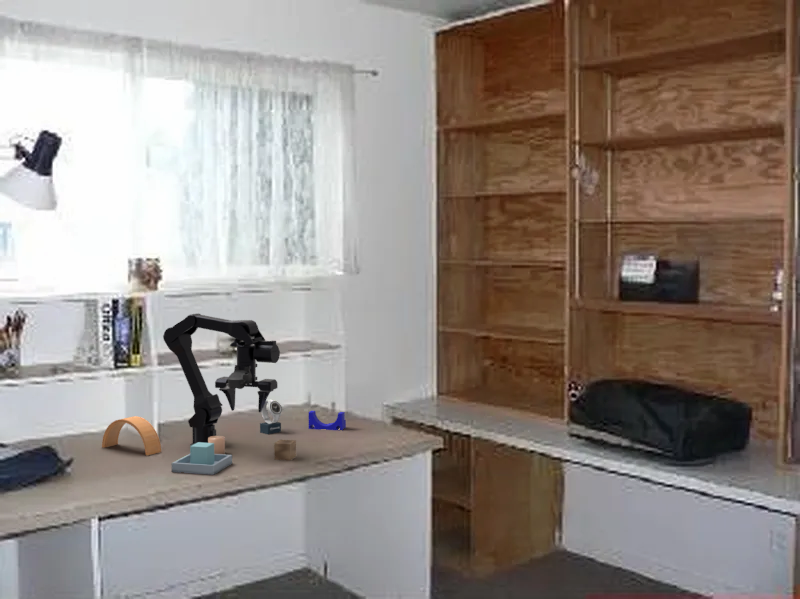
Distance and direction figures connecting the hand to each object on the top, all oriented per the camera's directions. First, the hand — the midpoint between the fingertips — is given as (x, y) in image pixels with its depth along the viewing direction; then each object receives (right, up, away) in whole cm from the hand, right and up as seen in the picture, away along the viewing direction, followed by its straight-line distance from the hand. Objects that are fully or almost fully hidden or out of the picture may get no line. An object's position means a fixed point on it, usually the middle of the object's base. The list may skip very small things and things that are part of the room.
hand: (246, 411), depth 270 cm
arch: (-35, -12, -1) cm, 37 cm away
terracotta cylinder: (-8, -12, -6) cm, 16 cm away
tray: (-9, -13, -22) cm, 27 cm away
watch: (+4, -10, +24) cm, 27 cm away
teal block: (-9, -13, -22) cm, 27 cm away
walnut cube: (+13, -13, -11) cm, 21 cm away
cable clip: (+23, -10, +31) cm, 40 cm away
